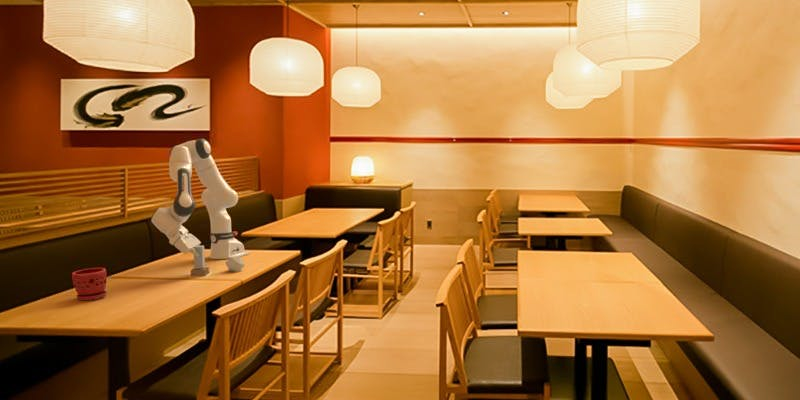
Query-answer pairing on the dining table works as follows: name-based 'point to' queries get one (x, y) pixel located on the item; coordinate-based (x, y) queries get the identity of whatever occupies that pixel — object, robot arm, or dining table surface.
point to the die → (235, 263)
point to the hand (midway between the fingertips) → (200, 254)
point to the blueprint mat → (200, 276)
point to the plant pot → (90, 283)
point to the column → (201, 259)
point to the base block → (200, 271)
